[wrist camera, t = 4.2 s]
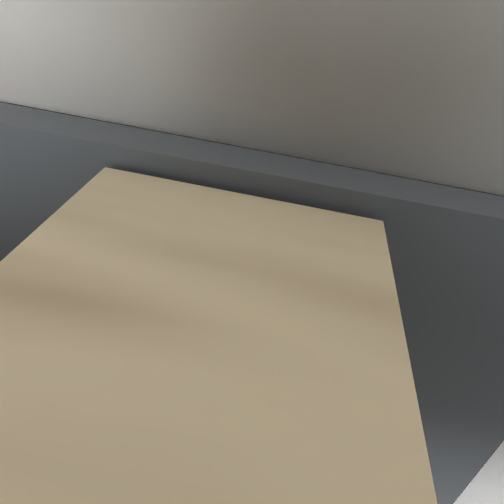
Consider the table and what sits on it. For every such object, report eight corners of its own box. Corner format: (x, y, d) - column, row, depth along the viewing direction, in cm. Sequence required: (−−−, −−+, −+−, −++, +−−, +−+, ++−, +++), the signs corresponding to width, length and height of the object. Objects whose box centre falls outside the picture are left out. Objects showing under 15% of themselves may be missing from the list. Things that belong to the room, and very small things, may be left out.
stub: (302, 448, 12) (279, 813, 7) (119, 407, 12) (-35, 729, 7) (383, 220, 8) (475, 705, 3) (105, 166, 8) (-284, 518, 3)
